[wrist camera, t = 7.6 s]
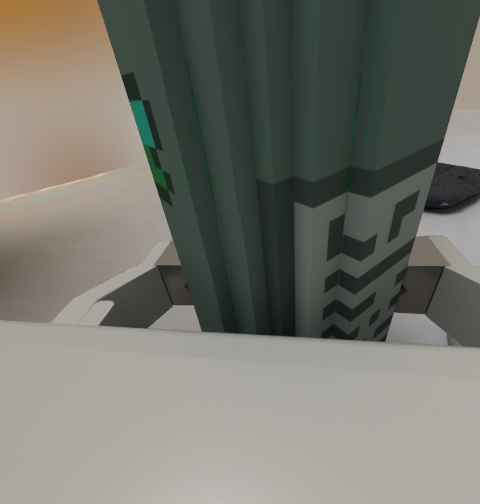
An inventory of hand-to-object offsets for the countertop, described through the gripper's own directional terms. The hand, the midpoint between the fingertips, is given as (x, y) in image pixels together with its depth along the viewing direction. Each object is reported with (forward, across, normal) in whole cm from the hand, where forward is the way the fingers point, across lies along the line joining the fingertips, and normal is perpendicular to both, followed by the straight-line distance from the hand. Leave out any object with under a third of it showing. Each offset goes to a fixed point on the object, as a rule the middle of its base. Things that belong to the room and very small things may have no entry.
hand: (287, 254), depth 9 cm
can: (-1, 0, +8) cm, 8 cm away
